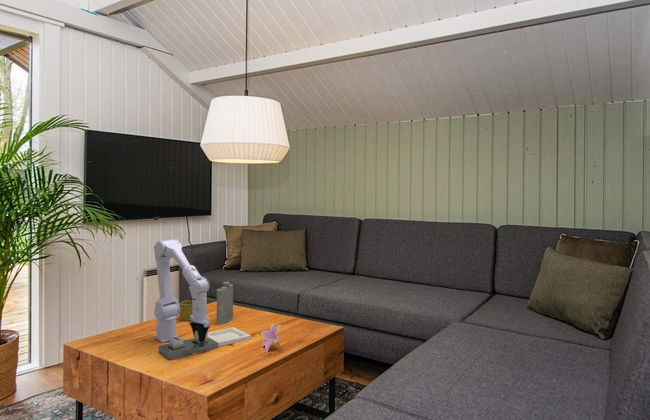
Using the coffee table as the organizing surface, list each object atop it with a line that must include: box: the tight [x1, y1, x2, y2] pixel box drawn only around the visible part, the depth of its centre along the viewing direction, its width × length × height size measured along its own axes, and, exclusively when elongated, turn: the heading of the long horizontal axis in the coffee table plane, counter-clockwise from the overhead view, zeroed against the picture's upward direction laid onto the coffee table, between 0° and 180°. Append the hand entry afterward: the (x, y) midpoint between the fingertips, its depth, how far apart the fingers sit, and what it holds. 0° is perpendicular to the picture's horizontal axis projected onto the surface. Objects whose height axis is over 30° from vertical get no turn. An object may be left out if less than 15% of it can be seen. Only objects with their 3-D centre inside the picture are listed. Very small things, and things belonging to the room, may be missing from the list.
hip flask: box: [216, 281, 234, 326], centre depth 226 cm, size 16×4×20 cm, turn 170°
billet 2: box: [194, 330, 209, 345], centre depth 188 cm, size 4×4×6 cm
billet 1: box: [169, 336, 184, 350], centre depth 181 cm, size 4×4×6 cm
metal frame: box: [158, 337, 218, 361], centre depth 185 cm, size 12×20×2 cm, turn 130°
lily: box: [260, 323, 282, 353], centre depth 189 cm, size 12×12×10 cm
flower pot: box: [178, 299, 193, 322], centre depth 229 cm, size 9×9×9 cm
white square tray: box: [208, 327, 252, 348], centre depth 199 cm, size 16×16×2 cm
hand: (199, 340), depth 188 cm, fingers closed on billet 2, 4 cm apart
